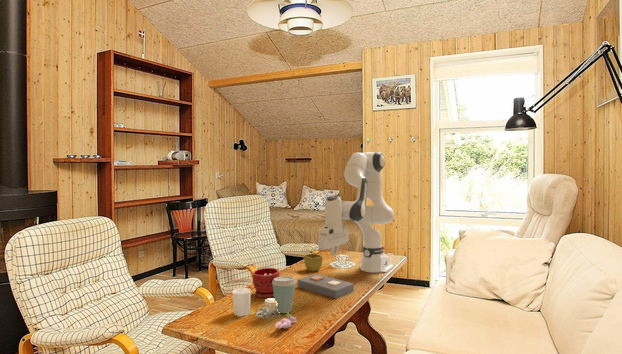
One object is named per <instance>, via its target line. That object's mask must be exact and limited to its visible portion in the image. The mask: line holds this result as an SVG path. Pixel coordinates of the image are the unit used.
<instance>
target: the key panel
mask: <svg viewBox="0 0 622 354" xmlns="http://www.w3.org/2000/svg"><path fill="white" fill-rule="evenodd" d="M313 276H320V277H323V280H320V281H313V280H310V277H313ZM333 280H334V281H338V282H341V284H340V285H338V286H331V285H328V284H327V282H330V281H333ZM354 285H355V284H354V283H353V282H349V281H345V280H343V279H337V278H335V277H329V276H326V275H323V274H319V273H313V274H310V275H306V276H304V277H302V278H298V279H297V287H298V288H300V289H303V290H307V291H309V292H314V293H316V294H318V295H323V296H326V297H330V298H333V299H336V300H337V299H338V298H341V297H344V296H347V295H349V294H351V293H354V289H355V288H354Z"/></svg>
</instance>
